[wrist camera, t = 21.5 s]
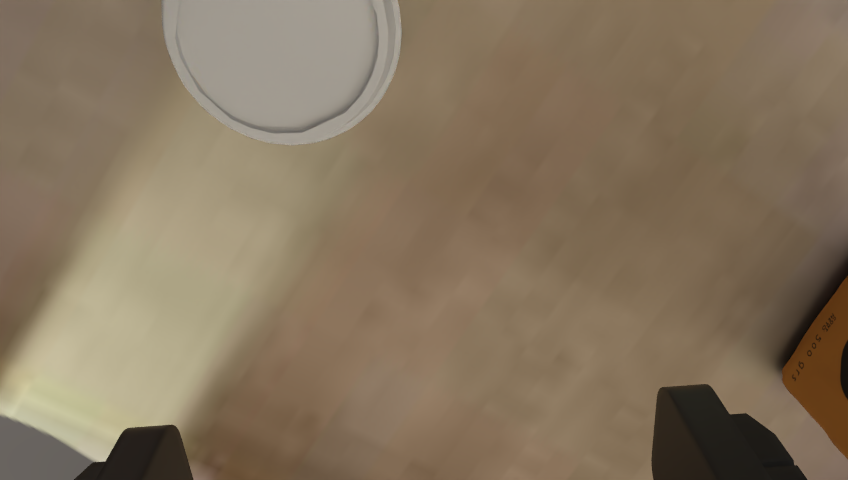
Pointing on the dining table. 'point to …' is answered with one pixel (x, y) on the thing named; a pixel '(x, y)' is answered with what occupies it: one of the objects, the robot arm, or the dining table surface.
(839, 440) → the coffee package
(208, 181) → the dining table surface
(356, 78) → the disposable coffee cup
